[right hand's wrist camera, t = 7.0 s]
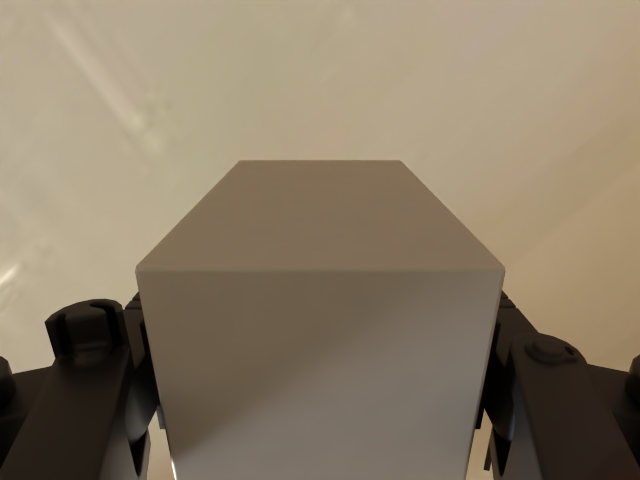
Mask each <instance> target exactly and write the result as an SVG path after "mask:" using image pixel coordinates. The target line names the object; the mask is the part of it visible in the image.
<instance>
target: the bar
mask: <svg viewBox="0 0 640 480" xmlns="http://www.w3.org/2000/svg"><path fill="white" fill-rule="evenodd" d="M135 273H136V279H137V284H138V289H139V294H140V299H141V305H142V310H143V315H144V320H145V325H146V331H147V336H148V341H149V346H150V352H151V357H152V362H153V367H154V372H155V378H156V383H157V388H158V393H159V398H160V404H161V409H162V414H163V419H164V424H165V430H166V435H167V440H168V445H169V451H170V456H171V461H172V466H173V471H174V477H175V480H465V478H466V473H467V468H468V463H469V458H470V452H471V447H472V442H473V437H474V432H475V426H476V421H477V416H478V411H479V406H480V401H481V395H482V390H483V385H484V380H485V375H486V369H487V364H488V359H489V354H490V349H491V343H492V338H493V333H494V328H495V323H496V317H497V312H498V307H499V302H500V297H501V292H502V286H503V281H504V276H505V268H504V265H503V264H502V263H501V262H500V261H499V260H498V259H497V258H496V257H495V256H494V255H493V254H492V253H491V252H490V251H489V250H488V249H487V248H486V247H485V246H484V245H483V244H482V243H481V242H480V241H479V240H478V239H477V238H476V237H475V236H474V235H473V234H472V233H471V232H470V231H469V230H468V229H467V228H466V227H465V226H464V225H463V224H462V223H461V222H460V221H459V220H458V219H457V218H456V217H455V216H454V214H453V213H452V212H451V211H450V210H449V209H448V208H447V207H446V206H445V205H444V204H443V203H442V202H441V201H440V200H439V199H438V198H437V197H436V196H435V195H434V194H433V193H432V192H431V191H430V190H429V189H428V188H427V187H426V186H425V185H424V184H423V183H422V182H421V181H420V180H419V179H418V178H417V177H416V176H415V175H414V174H413V173H412V172H411V171H410V170H409V169H408V168H407V167H406V166H405V165H404V164H403V162H402V161H399V160H241V161H239V162H238V163H237V164H236V165H235V166H234V167H233V168H232V169H231V170H230V171H229V172H228V173H227V174H226V175H225V176H224V177H223V178H222V179H221V180H220V181H219V182H218V183H217V184H216V185H215V186H214V187H213V188H212V189H211V190H210V191H209V192H208V193H207V194H206V195H205V196H204V197H203V199H202V200H201V201H200V202H199V203H198V204H197V205H196V206H195V207H194V208H193V209H192V210H191V211H190V212H189V213H188V214H187V215H186V216H185V217H184V218H183V219H182V220H181V221H180V222H179V223H178V224H177V225H176V226H175V227H174V228H173V229H172V230H171V231H170V232H169V233H168V234H167V235H166V236H165V237H164V238H163V239H162V240H161V241H160V242H159V243H158V244H157V246H156V247H155V248H154V249H153V250H152V251H151V252H150V253H149V254H148V255H147V256H146V257H145V258H144V259H143V260H142V261H141V262H140V263H139V264H138V265H137V266H136V270H135Z"/></svg>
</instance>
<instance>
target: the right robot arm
mask: <svg viewBox="0 0 640 480" xmlns="http://www.w3.org/2000/svg"><path fill="white" fill-rule="evenodd" d="M45 325H46V329H47V332H48V335H49V338H50V342H51V345H52V348H53V352H54V355H55V358H56V359H55V361H54V363H53V365H52V366H49V367H45V368H40V369H35V370H30V371H25V372H20V373H15V374H12V371H11V369H10V366H9V363H8V361H7V360H6V359H4V358H3V357H2V356H0V480H146V479H147V471H148V463H149V454H150V446H151V442H150V435H149V431H148V425H149V423H150V421H151V419H152V417H153V415H154V413H155V411H157V416H158V421H159V426H160V429H165V424H164V419H163V414H162V409H161V404H160V398H159V393H158V388H157V383H156V378H155V372H154V367H153V362H152V357H151V352H150V346H149V341H148V336H147V331H146V325H145V320H144V315H143V310H142V305H141V299H140V294H139V291H138V293H137V294H136V295H135V296H134V297H133V299H132V301H130V302H129V303H128V304H127V306H126V307H125V310H123V309H122V305H121V304H119V303H118V302H117V301H114V300H109V299H92V300H87V301H82V302H78V303H75V304H72V305H69V306H67V307H64V308H62V309H61V310H59V311H57V312H55V313H54V314H52V315H51V316H50V317H49V318H48V319H47V320H46V321H45ZM484 408H485V410H486V413H487V415H488V417H489V419H490V421H491V423H492V425H493V426H492V431H491V435H490V440H489V445H488V449H487V454H486V459H485V464H484V470H487V471H489V470H490V465H491V462H492V470H493V478H494V480H640V355H638V356H637V357H636V358H634V359H633V361H632V364H631V367H630V370H629V372H625V371H619V370H614V369H609V368H604V367H599V366H594V365H590V364H587V362H586V360H585V358H584V357H583V356H582V354H581V353H580V352H579V351H578V350H577V349H576V348H574V347H573V346H572V345H570V344H569V343H567V342H565V341H563V340H560V339H558V338H556V337H553V336H550V335H545V334H541V333H538V331H537V330H536V329H535V328H534V327H533V326H532V324H531V323H530V322H529V321H528V320H527V319H526V317H525V316H524V315H523V314H522V313H521V312H520V310H519V309H518V308H516V306H515V305H514V303H513V302H512V301H511V300H510V299H508V296H507V295H506V294H505V293H504V292H503V291H502V292H501V297H500V302H499V307H498V312H497V317H496V323H495V328H494V333H493V338H492V343H491V349H490V354H489V359H488V364H487V369H486V375H485V380H484V385H483V390H482V395H481V401H480V406H479V411H478V416H477V421H476V426H475V429H480V428H481V423H482V418H483V413H484Z"/></svg>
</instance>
